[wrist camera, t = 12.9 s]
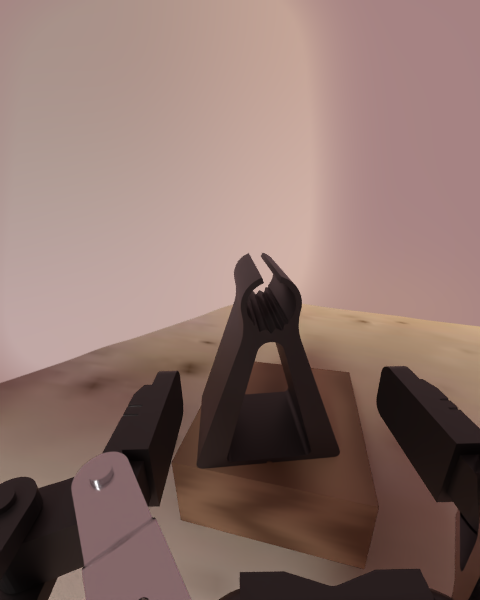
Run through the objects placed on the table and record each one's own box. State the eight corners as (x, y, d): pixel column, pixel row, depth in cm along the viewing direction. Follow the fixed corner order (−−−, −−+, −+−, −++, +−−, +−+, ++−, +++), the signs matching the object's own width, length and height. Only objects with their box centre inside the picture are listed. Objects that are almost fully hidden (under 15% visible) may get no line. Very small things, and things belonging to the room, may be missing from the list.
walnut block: (181, 523, 19) (171, 462, 17) (228, 404, 30) (225, 358, 28) (363, 572, 16) (378, 507, 14) (342, 422, 27) (349, 372, 25)
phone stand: (310, 393, 23) (321, 250, 18) (339, 457, 17) (365, 273, 13) (202, 400, 22) (188, 255, 18) (196, 469, 17) (173, 282, 12)
